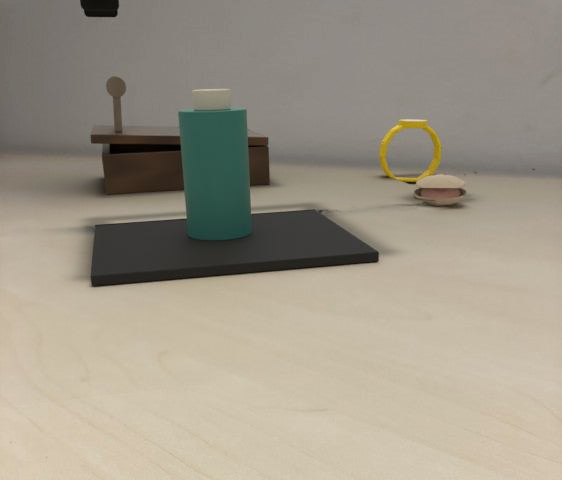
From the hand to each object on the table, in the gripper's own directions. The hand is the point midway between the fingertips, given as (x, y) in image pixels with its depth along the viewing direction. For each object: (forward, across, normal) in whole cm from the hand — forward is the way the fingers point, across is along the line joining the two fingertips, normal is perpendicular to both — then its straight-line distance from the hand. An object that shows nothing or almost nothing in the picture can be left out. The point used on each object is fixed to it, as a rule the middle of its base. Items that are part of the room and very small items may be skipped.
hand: (100, 13), depth 65 cm
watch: (+15, +6, +29) cm, 33 cm away
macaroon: (+15, +18, +27) cm, 36 cm away
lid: (+11, 0, +6) cm, 13 cm away
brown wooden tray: (+16, 0, +7) cm, 17 cm away
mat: (+16, +26, +7) cm, 31 cm away
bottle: (+15, +26, +7) cm, 31 cm away
